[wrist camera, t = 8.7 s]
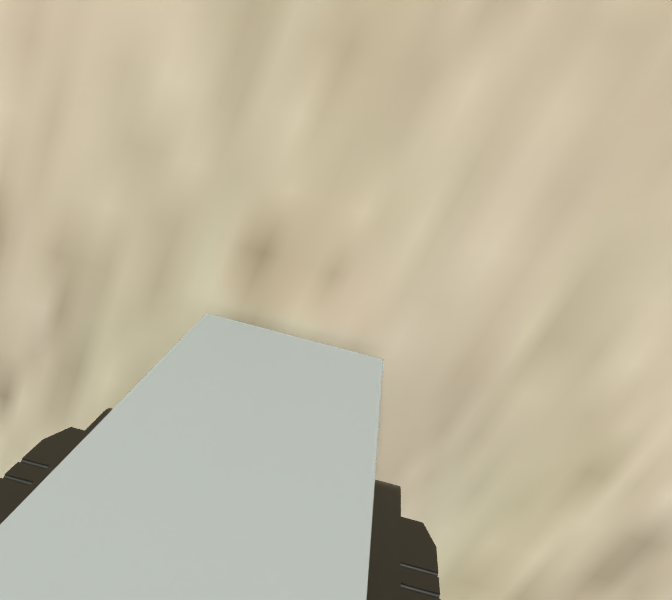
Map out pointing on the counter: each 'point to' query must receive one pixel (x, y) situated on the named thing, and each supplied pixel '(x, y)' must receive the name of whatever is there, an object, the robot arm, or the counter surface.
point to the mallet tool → (213, 480)
